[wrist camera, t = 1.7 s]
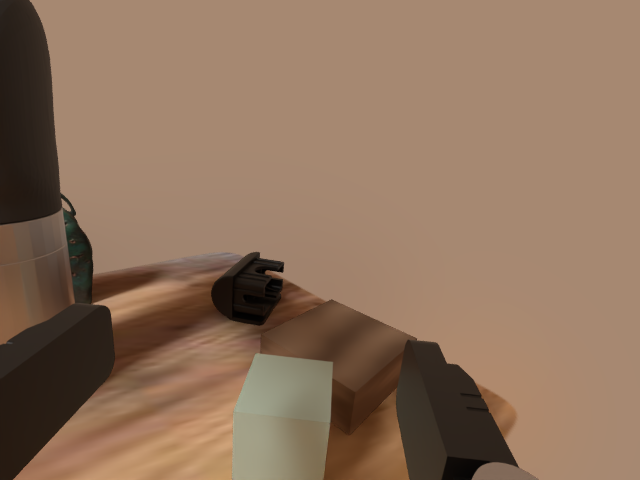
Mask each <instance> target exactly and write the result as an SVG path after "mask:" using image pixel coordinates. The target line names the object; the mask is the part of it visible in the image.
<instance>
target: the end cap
mask: <svg viewBox="0 0 640 480" xmlns="http://www.w3.org/2000/svg"><path fill="white" fill-rule="evenodd" d="M283 269H284V262H280V261H274V260H267V259H261V258H260V253H259V252H253V253H250V254H248V255H246V256H245V257H244V258H242V259H241V260H240V261H239V262H238V263H237V264H235V265H234V266H233V267H232V268H231V269H230V270H228V271H227V272H226V273H225V274H224V275H222V276H221V277H220V278H219V279H218V280H217V281H216V282H215V283H214V285H213V287H212V291H211V296H212V301H213V303H214V305H215V307H216V308H217V310H219V311H220V312H221V313H222V314H223V315H225V316H227V317H228V318H229V319H230V320H233V321H237V322H242V323H247V324H253V325H259V326H260V325H263V324H264V322H265V321H266V319H267V318H268V316H269V315H270V313H271V312H272V311H273V309H274V308H275V306H276V305H277V303H278V302H279V300H280V299H281V294H280V292H281V291H282V286H283V279H278V278H272V276H271V275H265V271H266V270H270V271H277V272H282V273H283Z"/></svg>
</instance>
